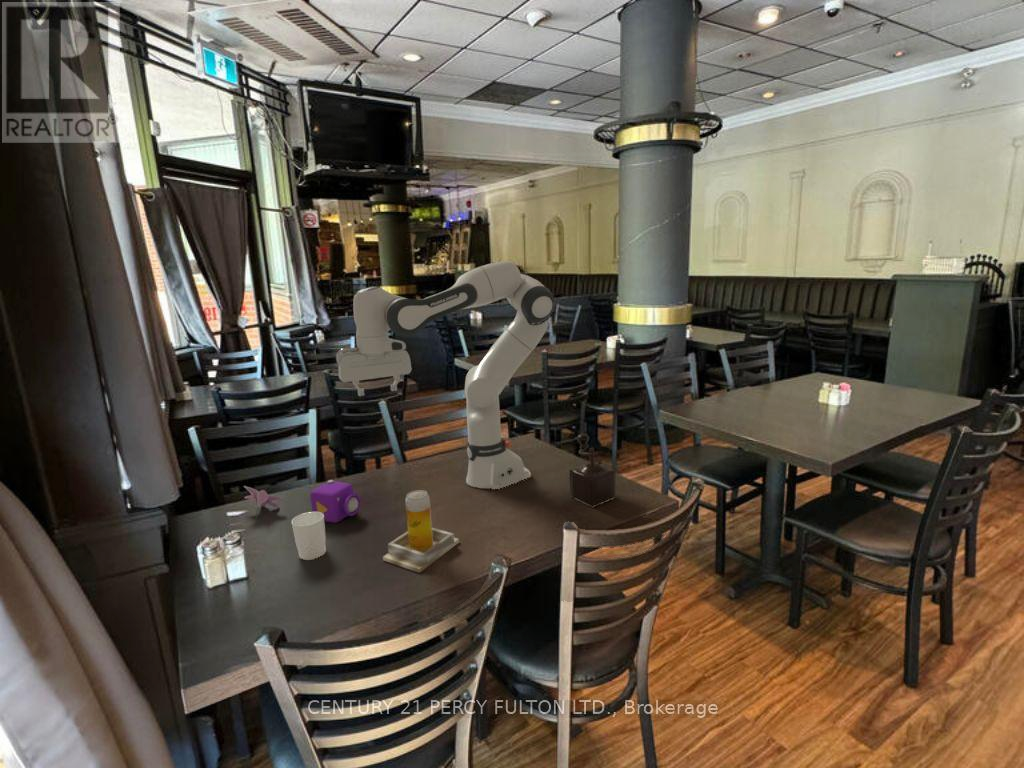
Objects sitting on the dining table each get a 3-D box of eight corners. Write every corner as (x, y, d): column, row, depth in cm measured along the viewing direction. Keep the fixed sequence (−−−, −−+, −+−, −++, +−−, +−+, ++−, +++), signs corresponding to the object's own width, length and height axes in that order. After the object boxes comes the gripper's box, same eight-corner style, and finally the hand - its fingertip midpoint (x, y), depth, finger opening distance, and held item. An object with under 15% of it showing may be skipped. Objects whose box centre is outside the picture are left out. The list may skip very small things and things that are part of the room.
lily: (288, 518, 160) (291, 486, 163) (249, 517, 151) (253, 484, 154) (268, 520, 167) (271, 489, 170) (230, 520, 158) (234, 487, 161)
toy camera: (351, 526, 151) (347, 494, 149) (308, 523, 154) (304, 492, 151) (368, 509, 161) (365, 479, 159) (328, 507, 164) (324, 477, 162)
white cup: (304, 545, 141) (299, 511, 139) (332, 545, 141) (328, 511, 139) (291, 562, 134) (285, 526, 131) (321, 561, 133) (316, 525, 131)
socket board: (383, 560, 133) (381, 547, 132) (424, 532, 146) (423, 520, 145) (419, 572, 127) (418, 559, 126) (459, 542, 140) (458, 530, 139)
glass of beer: (407, 545, 137) (402, 492, 134) (429, 539, 140) (425, 487, 136) (412, 556, 132) (407, 501, 129) (436, 550, 134) (431, 496, 131)
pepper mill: (618, 498, 162) (618, 443, 158) (592, 508, 156) (591, 451, 152) (584, 482, 174) (583, 431, 170) (558, 491, 168) (557, 438, 164)
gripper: (337, 350, 141) (342, 400, 144) (411, 343, 150) (415, 390, 153) (333, 348, 146) (338, 396, 149) (404, 340, 155) (408, 386, 158)
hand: (377, 393), depth 151 cm, fingers open, 8 cm apart
